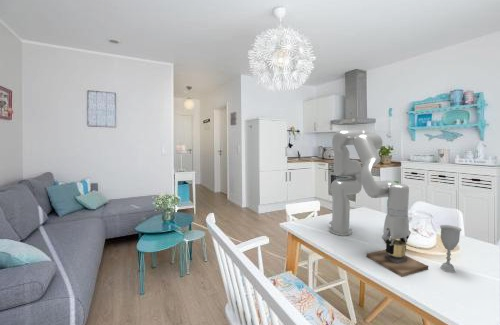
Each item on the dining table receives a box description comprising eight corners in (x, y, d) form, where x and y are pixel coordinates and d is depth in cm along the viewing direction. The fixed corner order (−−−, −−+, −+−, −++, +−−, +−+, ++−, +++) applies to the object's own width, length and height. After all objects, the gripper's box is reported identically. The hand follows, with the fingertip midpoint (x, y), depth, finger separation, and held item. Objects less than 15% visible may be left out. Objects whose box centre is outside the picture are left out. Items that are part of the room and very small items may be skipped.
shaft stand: (366, 256, 114) (366, 238, 113) (390, 251, 119) (391, 233, 118) (401, 276, 97) (402, 255, 97) (427, 269, 103) (429, 248, 102)
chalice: (449, 275, 98) (452, 231, 96) (433, 266, 104) (435, 226, 103) (463, 272, 100) (466, 229, 98) (445, 264, 106) (448, 224, 105)
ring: (383, 251, 110) (384, 240, 110) (394, 248, 112) (395, 238, 112) (397, 258, 104) (397, 246, 103) (408, 255, 106) (409, 244, 105)
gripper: (404, 207, 113) (402, 245, 114) (375, 212, 107) (373, 251, 109) (420, 212, 106) (418, 251, 107) (390, 217, 100) (388, 259, 102)
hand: (395, 251), depth 108 cm, fingers closed on ring, 6 cm apart
